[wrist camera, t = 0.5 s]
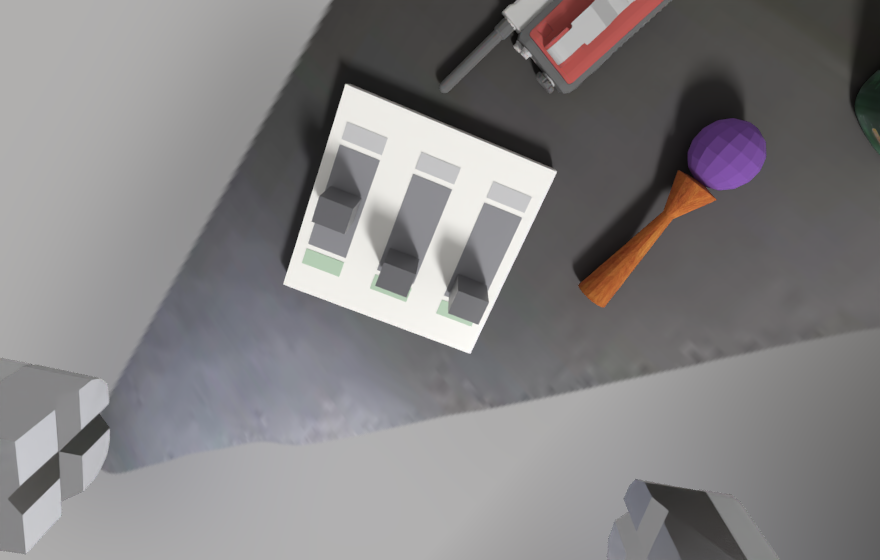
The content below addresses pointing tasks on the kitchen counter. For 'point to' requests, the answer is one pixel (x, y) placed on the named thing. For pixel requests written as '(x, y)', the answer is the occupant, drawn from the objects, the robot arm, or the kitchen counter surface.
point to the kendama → (687, 195)
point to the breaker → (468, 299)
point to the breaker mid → (397, 272)
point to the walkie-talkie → (563, 37)
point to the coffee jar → (870, 109)
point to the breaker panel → (416, 215)
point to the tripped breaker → (336, 209)
